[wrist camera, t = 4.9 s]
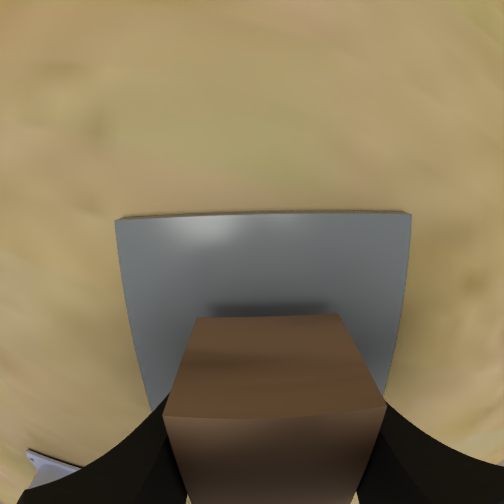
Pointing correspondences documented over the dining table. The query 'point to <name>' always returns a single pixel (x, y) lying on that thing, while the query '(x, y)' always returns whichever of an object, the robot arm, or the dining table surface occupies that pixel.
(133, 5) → the dining table surface
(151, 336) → the coaster
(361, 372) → the walnut cube
